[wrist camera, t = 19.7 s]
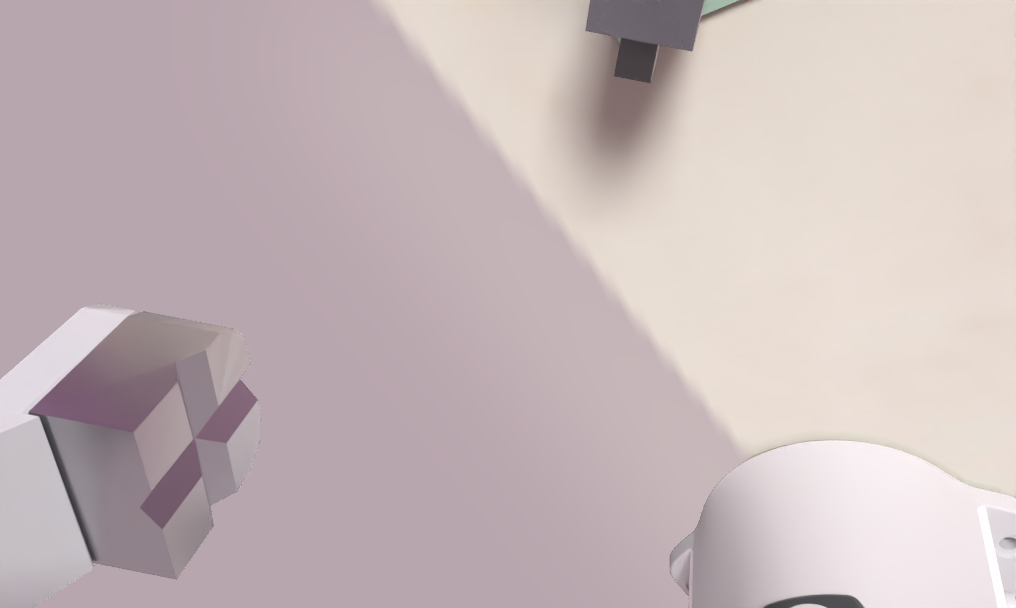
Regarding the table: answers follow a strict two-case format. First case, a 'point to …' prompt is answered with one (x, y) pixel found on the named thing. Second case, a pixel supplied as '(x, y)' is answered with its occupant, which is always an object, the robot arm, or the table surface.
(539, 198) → the table surface
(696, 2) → the grey tabbed block
